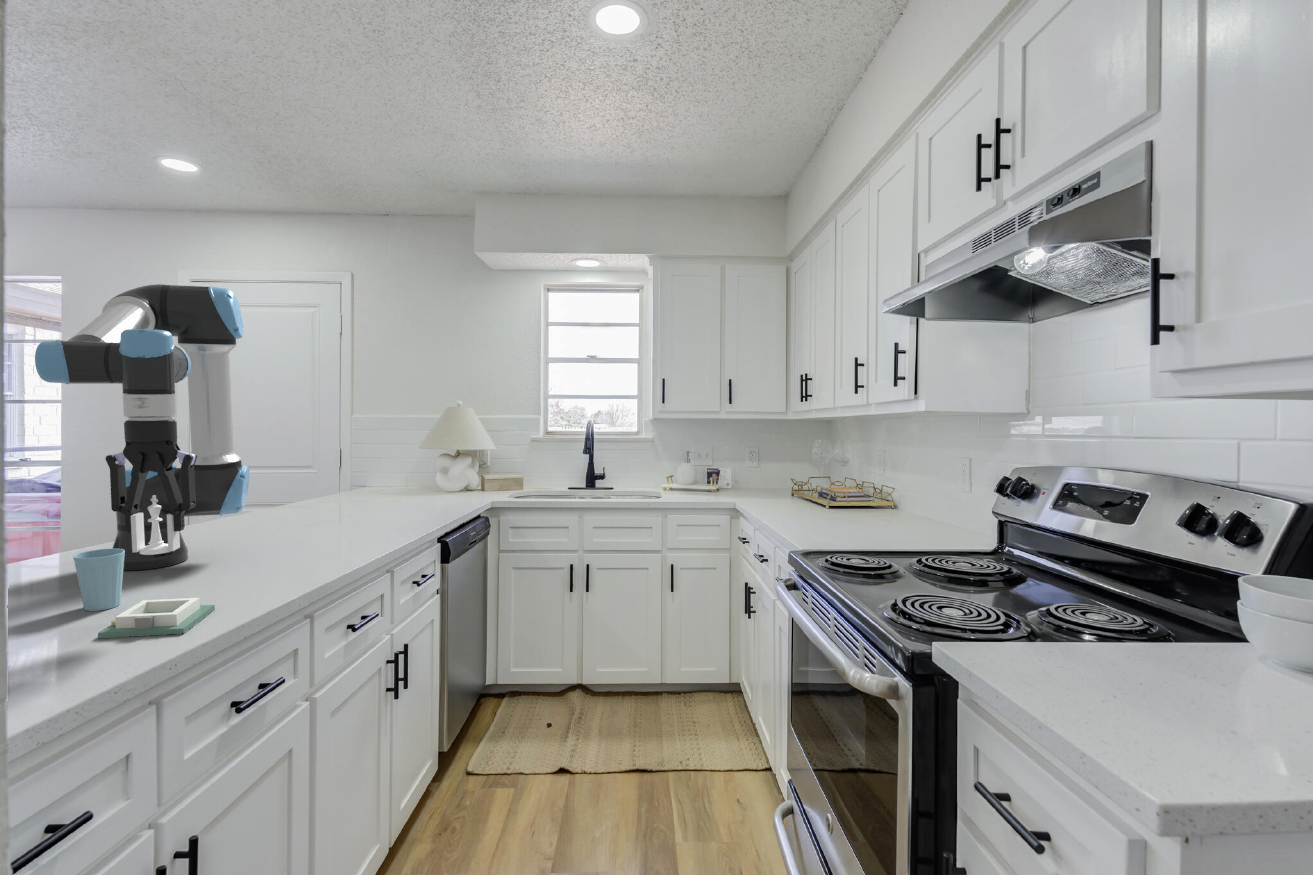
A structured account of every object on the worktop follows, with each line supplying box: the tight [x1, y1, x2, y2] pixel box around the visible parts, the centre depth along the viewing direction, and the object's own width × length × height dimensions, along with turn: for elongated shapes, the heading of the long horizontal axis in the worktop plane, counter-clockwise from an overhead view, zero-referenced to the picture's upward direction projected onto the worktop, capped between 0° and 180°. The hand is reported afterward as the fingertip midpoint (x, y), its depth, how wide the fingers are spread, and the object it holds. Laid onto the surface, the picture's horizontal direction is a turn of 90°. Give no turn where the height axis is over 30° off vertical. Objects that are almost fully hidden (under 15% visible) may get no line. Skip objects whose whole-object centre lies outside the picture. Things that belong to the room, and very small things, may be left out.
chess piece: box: [140, 495, 170, 555], centre depth 126 cm, size 5×5×10 cm
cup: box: [73, 547, 125, 612], centre depth 136 cm, size 8×8×10 cm
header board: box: [97, 597, 216, 639], centre depth 127 cm, size 13×13×3 cm
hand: (156, 549), depth 126 cm, fingers closed on chess piece, 5 cm apart
